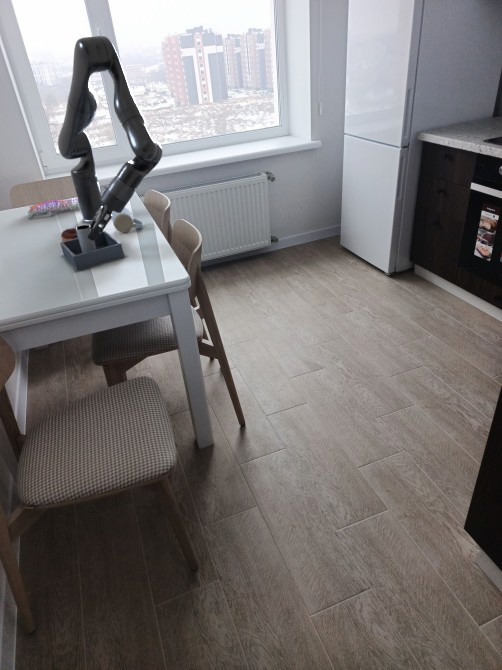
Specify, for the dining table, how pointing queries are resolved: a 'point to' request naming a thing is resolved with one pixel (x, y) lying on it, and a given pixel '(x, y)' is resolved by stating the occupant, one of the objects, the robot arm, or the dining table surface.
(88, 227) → the white and black tumbler
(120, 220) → the ceramic mug
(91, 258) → the dark grey open tray
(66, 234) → the donut
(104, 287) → the dining table surface
